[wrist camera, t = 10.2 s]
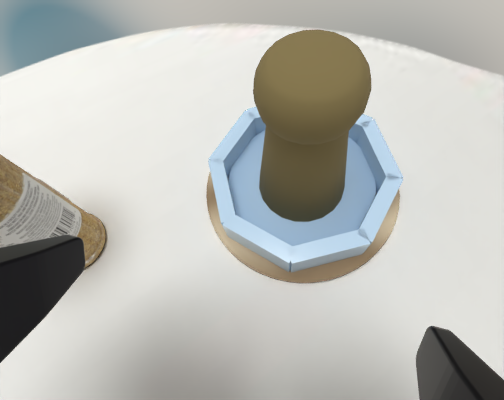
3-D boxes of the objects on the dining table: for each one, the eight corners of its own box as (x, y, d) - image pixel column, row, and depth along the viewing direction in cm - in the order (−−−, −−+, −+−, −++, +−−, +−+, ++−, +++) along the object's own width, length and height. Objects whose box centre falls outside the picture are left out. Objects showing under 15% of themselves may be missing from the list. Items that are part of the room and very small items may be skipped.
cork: (348, 151, 24) (393, 10, 14) (340, 228, 21) (388, 125, 11) (267, 142, 25) (255, 4, 15) (251, 214, 22) (224, 108, 12)
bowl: (413, 241, 21) (429, 228, 19) (238, 286, 21) (232, 278, 19) (349, 104, 27) (355, 82, 24) (207, 140, 26) (199, 120, 24)
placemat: (432, 253, 21) (435, 251, 21) (227, 306, 21) (226, 305, 21) (356, 96, 27) (356, 92, 27) (194, 136, 27) (193, 133, 27)
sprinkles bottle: (79, 205, 25) (-109, 73, 13) (120, 234, 24) (-48, 118, 12) (35, 253, 24) (-220, 155, 12) (76, 287, 23) (-166, 217, 10)
